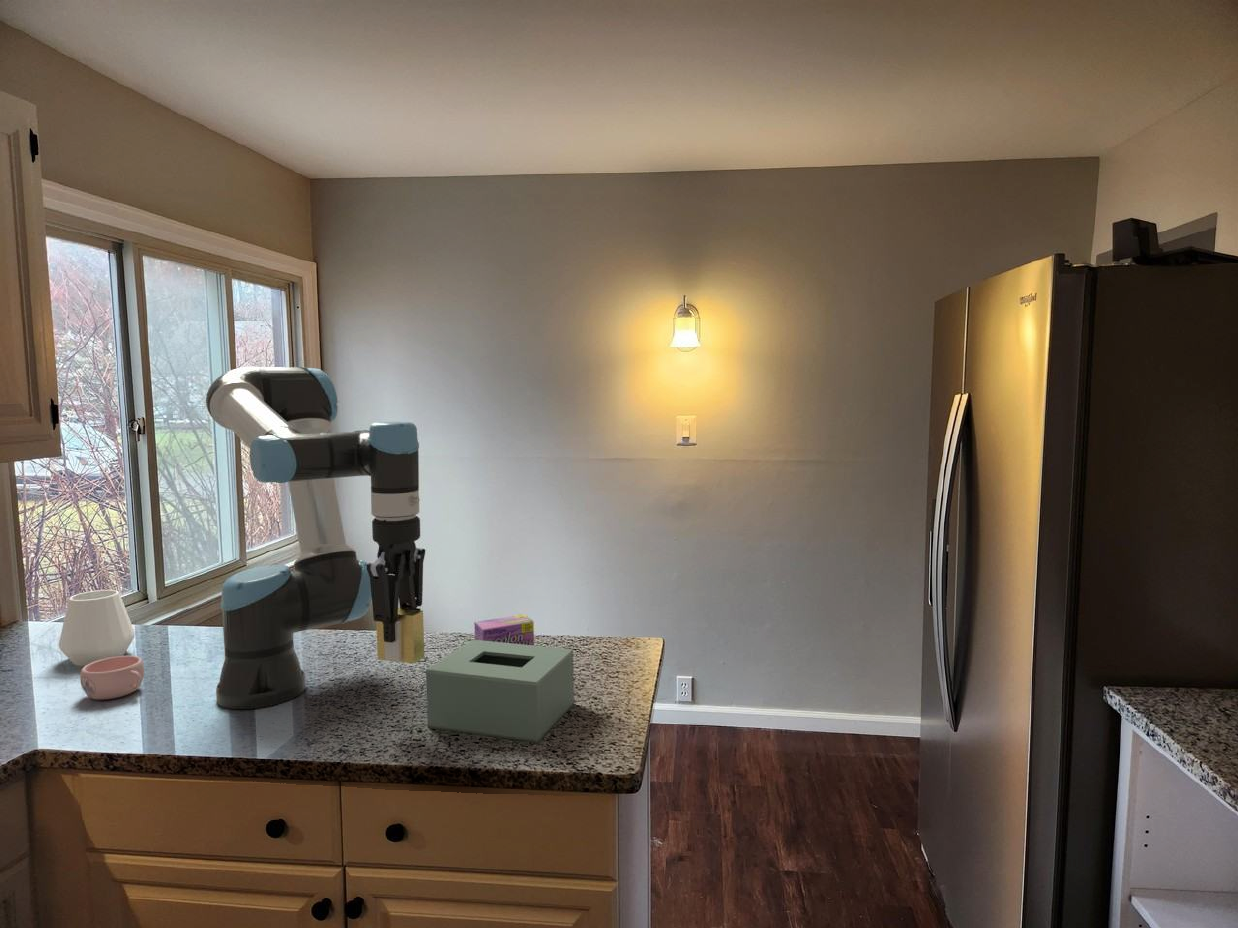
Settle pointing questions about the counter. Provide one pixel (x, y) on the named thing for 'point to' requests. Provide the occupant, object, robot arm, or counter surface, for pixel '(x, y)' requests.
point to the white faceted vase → (95, 627)
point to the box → (506, 630)
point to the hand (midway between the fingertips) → (400, 655)
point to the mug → (112, 677)
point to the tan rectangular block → (406, 636)
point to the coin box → (500, 690)
